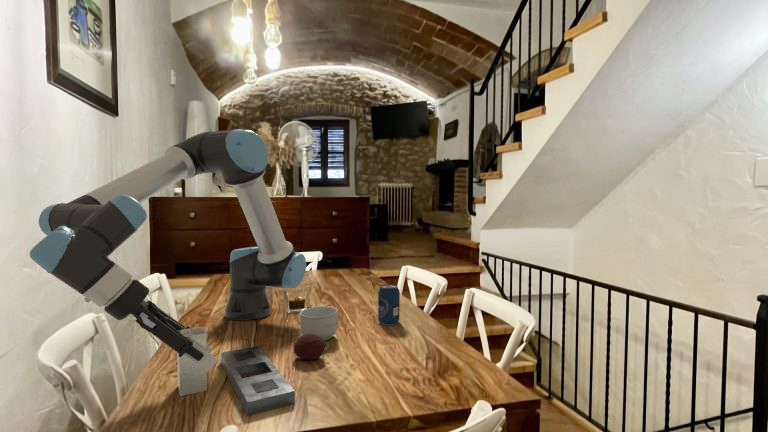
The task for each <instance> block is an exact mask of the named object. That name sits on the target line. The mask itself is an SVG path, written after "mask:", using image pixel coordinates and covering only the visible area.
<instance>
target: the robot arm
mask: <svg viewBox="0 0 768 432" xmlns="http://www.w3.org/2000/svg"><path fill="white" fill-rule="evenodd" d="M268 156H269V150H268V147H267V144H266V143H265V141H264V139H263V138H262V137H261V136H260V135H259V134H258V133H256V132H254V131H252V130H251V129H250V130H249V129H240V128H238V129H235V128H234V129H229V130H227V129H226V130H216V131H204V132H201V133H197V134H195V135H193V136H190V137H188V138H186V139H184V140H182V141H179V142H178V143H176V144H174V145H172V146H170V147H168V148H167V149H166V150H165V151H164V154H163V155H161V156H159V157H157V158H155V159H153V160H151V161H149V162H147V163H145V164H143V165H141V166H139V167H137V168H135V169H133V170H132V171H131V170H130V172H127V173H126V174H123V175H121V176H119V177H117V178H115V179H113V180H111V181H109V182H108V183H105V184H104V185H102V186H99V187H97V188H95V189H94V190H92V191H90V192H88V193H87V192H86V193H85V194H84V195H81V196H79V197H76V198H75V199H73V200H71V201H69V202H67V203H65V202H64V203H63V202H61V203H55V204H51V205H49V206H47V207H46V208H44V209H43V210H42V211H41V213H40V214H39V217H38V225H39V228H40V230H41V232H42V233H43V234H44V235H46V236H45V237H43V238H42V239H41V240H40V241H39V242H38V243H37V244H35V245H34V246H33V247H32V248H31V250H30V251H29V258H30V259H31V260H32V261H34V262H35V263H36V264H37V265H38V266H39V267H41V268H42V269H43V270H45V271H46V272H47V273H48V274H51V275H52V276H53V277H55V278H56V279H58V280H60V281H61V282H62V283H64V284H65V285H66V286H68V287H70V288H71V289H73V290H75V291H76V292H78V294H80V295H82V296H83V297H85V298H84V302H85V303H90V302H92V303H93V304H95V305H96V306H97V307H99V308H101V307H104V311H105V312H106V313H107V314H108V315H110V316H112V317H113V318H114V319H116V320H117V321H122V320H124V319H126V318H128V317H129V316H130V315H132V316H133V317H134V318H135V319H136V320H135V323H137V325H139V326H140V328H141V329H144V330H145V331H147V332H149V333H150V334H152V335H153V336H155V337H156V338H157V339H158V340H160V341H161V342H163V343H164V344H165V345H166V346H168V347H169V348H171V349H172V350H174V351H175V352H176V353H177V352H178V354H179V355H178V356H179V357H182V356H183V355H186V356H187V357H189V358H190V359H191V360H193V361H194V362H196V363H197V364H198V365H200V366H201V367H203V368H204V369H206V372H207V373H208V372H210V371H211V370H212V368H214V366H215V365H216V364H217V363H218V361H219V359H218V358H217V357H215V356H214V355H212V354H211V353H212V351H214V350H213V348H212V347H210V346H209V345H208V344H207V343H206V350H204V349H203V348H201V347H200V346H199V345H197V344H196V343H195V342H192V341H190V340H188V339H187V338H186V337H185V336H184V335H182V334H181V333H180V332H179V331H177V330H184V329H191V328H192V327H190V326H189V325H187V326H186V327H185V325H184V324H182V323H180V321H178V320H176V319H175V318H173V316H172V315H171V316H170V315H169V314H168V313H166V312H165V311H164V310H162V309H161V307H159V306H157V305H156V303H154V302H153V301H152V300H149V299H148V300H147V301H146V300H145V299H146V298H147V297H148V295H149V293H150V288H148V287H147V286H146V285H144V284H143V283H142V282H141V281H139V280H138V279H132V277H133V276H132V274H131V273H129V272H128V271H126V270H125V269H124V268H123V267H121V266H120V265H119V264H117V263H115V262H114V261H113V260H111V259H110V258H109V256H111V254H113V253H114V251H116V250H117V249H118V248H119V247H120V246H121V245H122V244H124V243H125V241H127V240H128V239H129V238H130V237H132V235H133V234H135V233H136V232H137V231H138V229H140V227H141V226H142V225H143V224H144V223H145V222H147V221H146V220H147V218H148V214H147V211H146V208H145V207H143V205H142V203H143V202H145V201H147V200H148V199H150V198H151V197H153V196H156V195H157V194H159V193H161V192H162V191H164V190H165V189H168V188H169V187H171V186H173V185H174V184H176V183H178V182H179V181H181V180H187V181H188V180H190V179H192V178H193V177H195V176H198V175H199V176H200V175H203V174H215V173H216V174H218V173H219V174H221V177H223V178H222V179H223V182H224V183H225V185H226V186H230V187H232V188H233V191H234V192H235V193H234V194H235V195H236V197H237V199H238V202H239V205H240V207H241V209H242V212H243V213H244V216H245V219H246V221H247V224H248V225H249V229H250V231H251V233H252V236H253V238H254V240H255V243H256V246H249V247H243V248H238V249H237V248H236V249H233V250H232V251H231V252H230V254H229V257H230V258H229V285H230V286H229V287H230V293H229V296H228V299H227V302H226V305H225V307H224V308H225V309H224V317H225V318H226V319H228V320H232V321H233V320H234V321H249V320H250V321H251V320H258V319H263V318H264V317H267V316H269V315H271V314H272V305H271V302H270V299H269V296H268V293H267V287H269V288H270V287H272V288H280V289H295V288H297V287H299V286H300V285H301V283H302V282H303V280H304V277H305V274H306V270H307V261H306V260H307V259H306V256H305V255H304V254H303V253H300V252H296V251H295V248H294V246H293V244H292V243H291V242H290V241H288V240H286V238H285V235H284V233H283V232H284V231H283V229H282V227H281V224H280V222H279V218H278V216H277V213H276V211H275V208H274V206H273V203H272V200H271V197H270V195H269V194H270V193H268V189H267V186H266V184H265V180H264V179H263V178H264V175H265V174H266V167H267V165H268V162H269V158H268Z"/></svg>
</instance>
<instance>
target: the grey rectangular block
mask: <svg viewBox="0 0 768 432" xmlns="http://www.w3.org/2000/svg"><path fill="white" fill-rule="evenodd" d="M190 328H191V329H184V330H177V331H179V332H180V333H181V334H182V335H184V336H185V337H186V338H187V339H188V340H190V341H192V342H195V343H196V344H197V345H199V346H200V347H201V348H203V349H204V350H206V344H207V338H208V333H207V331H206V329H205V327H204V326H199V327H190ZM178 355H179V354H178V352H176V358H177V359H176V363H177V366H176V367H177V368H176V369H177V372H176V373H177V389H178V393H179V397H184V396H188V395H192V394H196V393H201V392H205V391H207V390H208V389H207V388H208V386H207V383H208V381H207V379H208V378H207V370H206V369H204V368H203V367H201V366H200V365H198V364H197V363H196V362H194V361H193V360H191V359H190V358H189V357H187V356H186V355H183V356H182V357H179V356H178Z"/></svg>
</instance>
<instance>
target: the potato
mask: <svg viewBox="0 0 768 432" xmlns="http://www.w3.org/2000/svg"><path fill="white" fill-rule="evenodd" d="M293 347H294V348H293V353H294V354H295V356H297V357H298V358H300V359H303V360H315V359H317V358H320V357H322V356H323V354H324V353H325V349H326V342H325V340H323V339H322V338H321V337H320V336H318V335H314V334H305V335H303V334H302V335H300V336H299V337H298V338H297V339H296V340H295V343H294V345H293Z"/></svg>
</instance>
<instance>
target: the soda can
mask: <svg viewBox="0 0 768 432" xmlns="http://www.w3.org/2000/svg"><path fill="white" fill-rule="evenodd" d="M400 291H401V290H400V289H399V286H398V285H397V284H389V283H387V284H382V285H380V286H379V289H378V292H377V293H378V295H377V297H378V298H377V317H378V318H377V319H378V322H379V324H380V325H383V326H395V325H397V324H398V322H400V312H401V311H400V307H401V304H400V300H401V299H400V293H401V292H400ZM394 324H395V325H394Z"/></svg>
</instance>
